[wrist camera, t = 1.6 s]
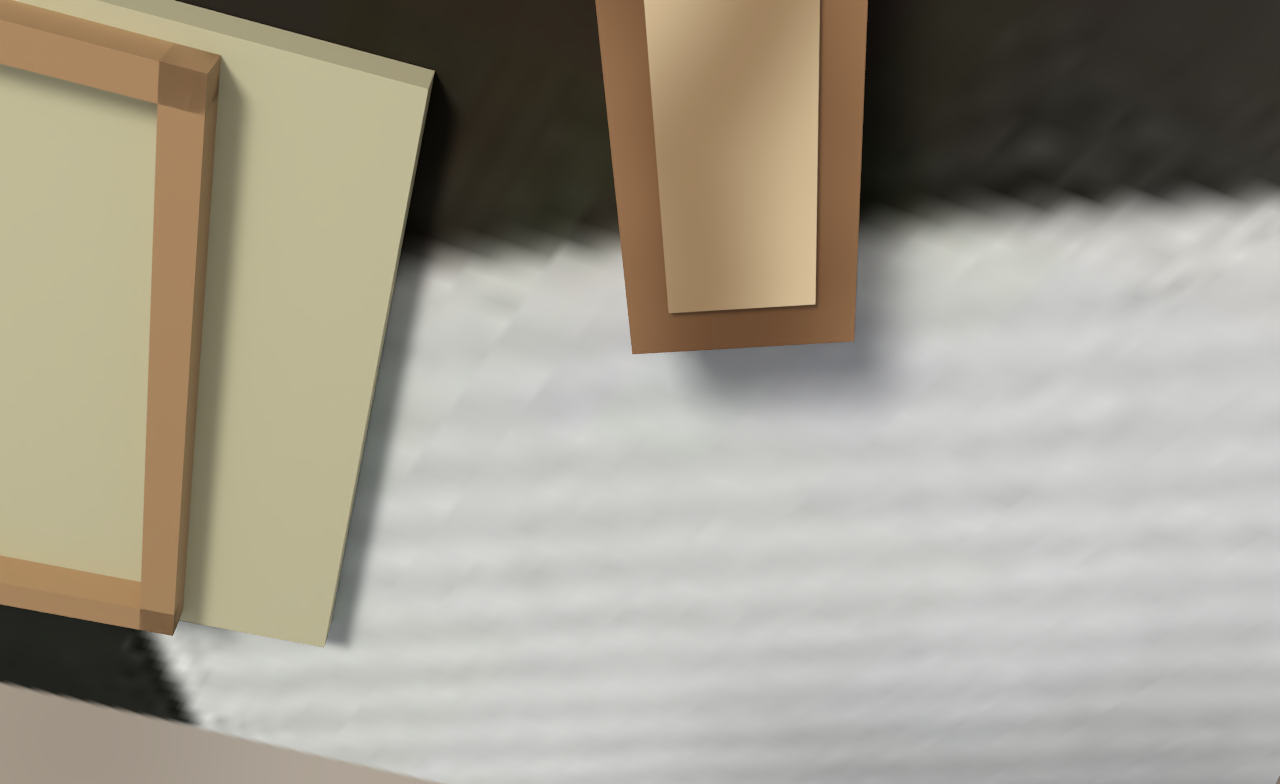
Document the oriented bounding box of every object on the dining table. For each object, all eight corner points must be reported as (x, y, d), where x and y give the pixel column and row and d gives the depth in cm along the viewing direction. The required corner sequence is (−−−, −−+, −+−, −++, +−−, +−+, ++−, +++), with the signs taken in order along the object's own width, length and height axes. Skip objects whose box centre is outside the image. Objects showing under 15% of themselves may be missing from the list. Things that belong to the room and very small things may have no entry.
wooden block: (843, -304, 22) (879, -259, 19) (831, 238, 30) (855, 346, 26) (583, -280, 23) (570, -231, 19) (635, 250, 30) (632, 359, 26)
